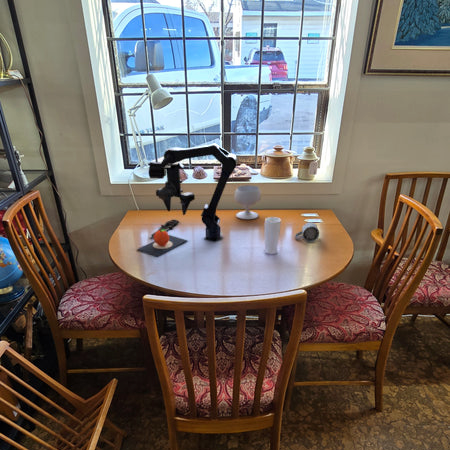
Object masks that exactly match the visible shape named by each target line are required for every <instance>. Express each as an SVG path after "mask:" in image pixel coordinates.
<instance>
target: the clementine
mask: <svg viewBox="0 0 450 450" xmlns="http://www.w3.org/2000/svg"><path fill="white" fill-rule="evenodd" d="M157 230H158V231H157ZM157 230H156V231H157V232H156V231H155V232H156V233H155V232H154V233H155V234H154V239H153V240H154V241H155V242H156V243H157V244H158V245H166V244H167V243H168V241H169V235H170V234H169V232H168V231H164V230H159V229H157ZM154 241H153V242H154Z"/></svg>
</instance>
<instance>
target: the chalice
mask: <svg viewBox="0 0 450 450" xmlns="http://www.w3.org/2000/svg"><path fill="white" fill-rule="evenodd" d="M261 199H262V192H261V190H260V188H259V187H258V186H257V185H240V186H238V187H237V188H236V190H235V192H234V200H235V201H236V203H237V204H239V205H241V206H243V207H244V208H245V210H244V211H239V212H237V213H236V215H235V216H236V217H237V218H239V219H241V220H253V219H257V218H258V217H259V213H257V212H255V211H250V208H252V206H255V205H257V204H258V203H260V201H261Z"/></svg>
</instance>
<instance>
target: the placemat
mask: <svg viewBox="0 0 450 450" xmlns="http://www.w3.org/2000/svg"><path fill="white" fill-rule="evenodd" d="M168 235H169V241H168V243H167V244H166V245H158V244H157V243H156V242H155V241H151V242H150V243H148V244H146V245H143V246H141V247H139V248H137V251H138V252H141V253H144V254H148V255H150V256H153V257H156V258H158V257H160V256H162V255H164V254H166V253H168V252H170V251H172V250H173V249H175V248H177V247H179V246H181V245H183V244H186V243H187V242H188V240H187V239H183V238H181V237H177V236H174V235H170V234H168Z"/></svg>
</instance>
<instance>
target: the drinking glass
mask: <svg viewBox="0 0 450 450" xmlns="http://www.w3.org/2000/svg"><path fill="white" fill-rule="evenodd" d="M281 226H282V219H281V218H279V217H276V216H268V217H266V218H265V219H264V225H263V228H264V229H263V230H264V252H265V253H266V254H267V255H274V254H276V253H277V252H278V246H279V239H280V234H281V228H282V227H281Z"/></svg>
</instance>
